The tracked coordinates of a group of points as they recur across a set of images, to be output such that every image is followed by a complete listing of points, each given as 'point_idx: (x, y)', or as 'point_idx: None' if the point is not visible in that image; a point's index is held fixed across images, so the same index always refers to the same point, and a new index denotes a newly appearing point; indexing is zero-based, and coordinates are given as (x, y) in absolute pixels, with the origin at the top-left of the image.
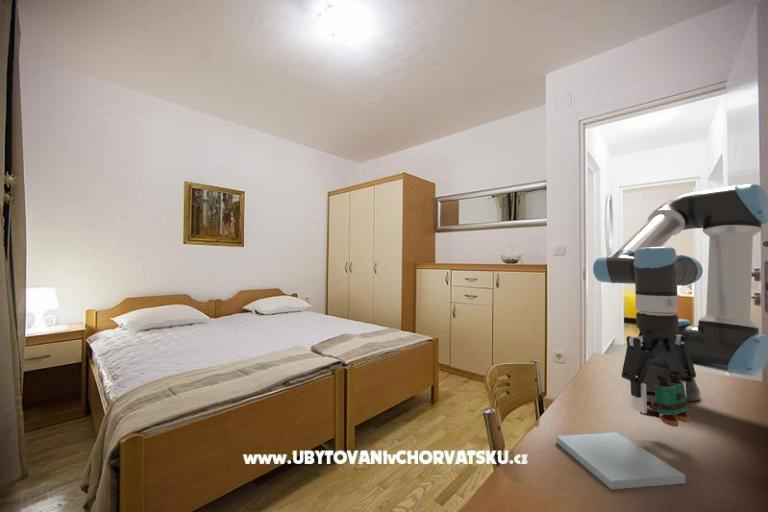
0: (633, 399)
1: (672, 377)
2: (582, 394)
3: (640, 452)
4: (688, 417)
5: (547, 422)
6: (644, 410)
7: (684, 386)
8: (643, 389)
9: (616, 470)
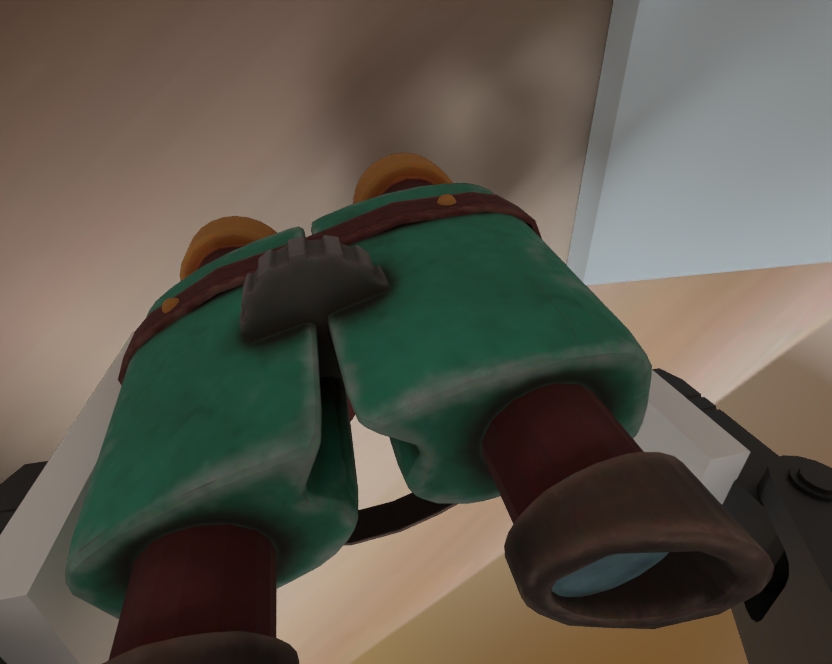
0: None
1: (271, 645)
2: (364, 611)
3: (667, 80)
4: (209, 234)
5: (711, 394)
6: None
7: (33, 527)
8: (693, 410)
9: None
